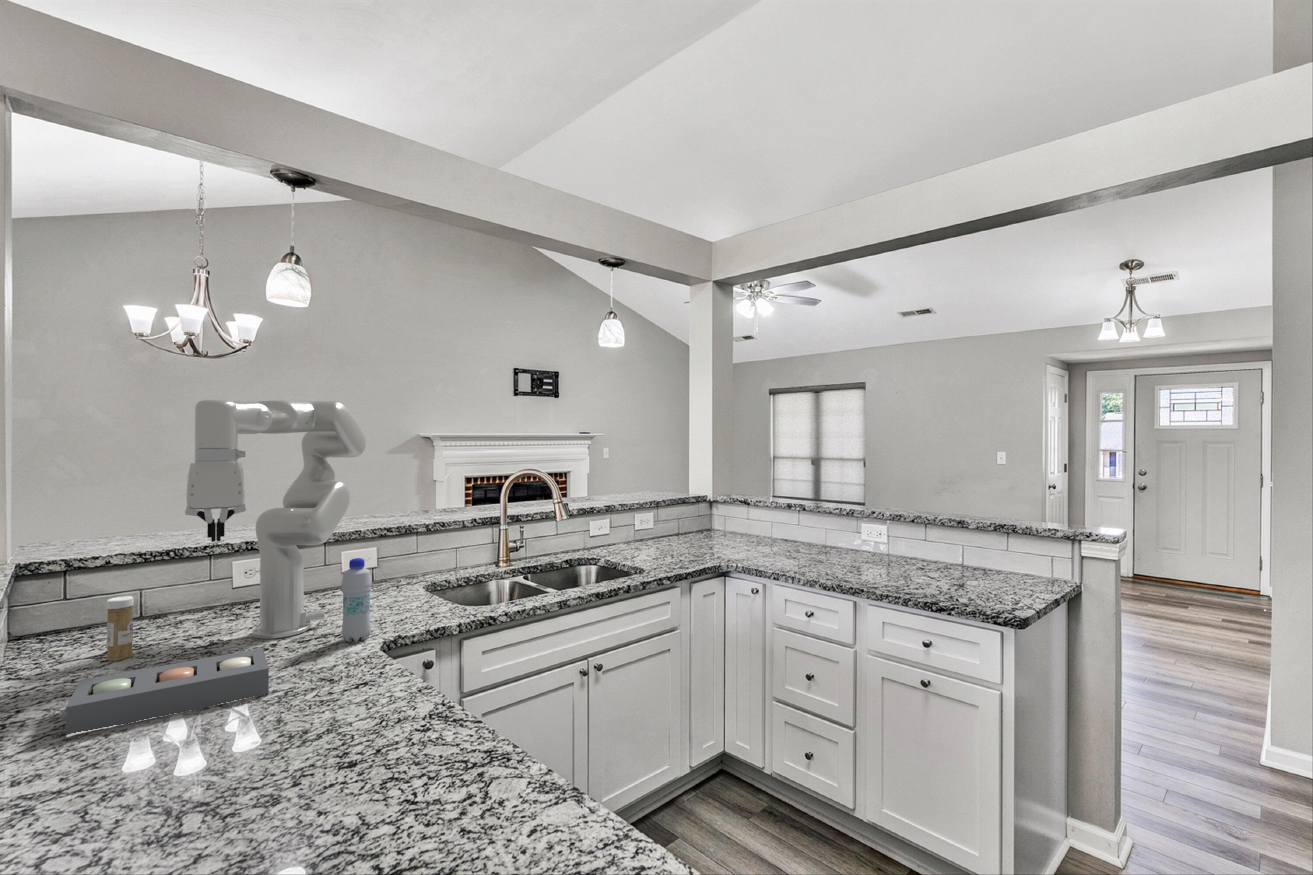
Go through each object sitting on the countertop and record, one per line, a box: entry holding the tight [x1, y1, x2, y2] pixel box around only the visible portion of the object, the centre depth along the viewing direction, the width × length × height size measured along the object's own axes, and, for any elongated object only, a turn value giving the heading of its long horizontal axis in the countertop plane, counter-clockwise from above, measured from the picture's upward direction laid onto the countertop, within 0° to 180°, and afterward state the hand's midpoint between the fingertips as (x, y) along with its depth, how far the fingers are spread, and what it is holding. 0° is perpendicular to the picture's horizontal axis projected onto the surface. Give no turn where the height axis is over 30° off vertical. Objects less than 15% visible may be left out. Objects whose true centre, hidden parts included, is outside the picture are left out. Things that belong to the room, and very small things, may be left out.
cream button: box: [220, 657, 251, 671], centre depth 117 cm, size 5×5×4 cm
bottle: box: [340, 557, 373, 643], centre depth 147 cm, size 7×7×20 cm
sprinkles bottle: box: [105, 595, 135, 662], centre depth 134 cm, size 5×5×14 cm
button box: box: [65, 648, 270, 735], centre depth 112 cm, size 28×14×5 cm, turn 127°
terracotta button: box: [160, 667, 194, 682], centre depth 112 cm, size 5×5×4 cm
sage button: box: [93, 678, 131, 695], centre depth 106 cm, size 5×5×4 cm
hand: (215, 540), depth 130 cm, fingers closed
